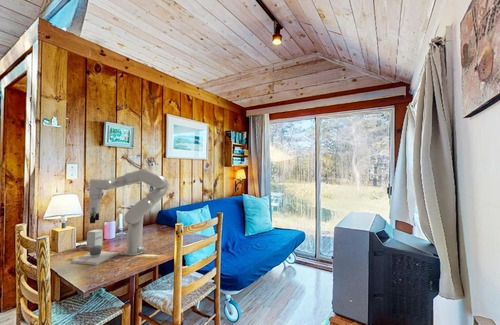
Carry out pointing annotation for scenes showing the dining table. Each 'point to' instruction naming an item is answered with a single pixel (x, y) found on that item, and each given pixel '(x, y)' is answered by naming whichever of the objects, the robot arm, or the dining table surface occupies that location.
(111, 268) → the dining table surface
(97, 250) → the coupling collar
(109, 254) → the post base
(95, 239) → the supplement box
